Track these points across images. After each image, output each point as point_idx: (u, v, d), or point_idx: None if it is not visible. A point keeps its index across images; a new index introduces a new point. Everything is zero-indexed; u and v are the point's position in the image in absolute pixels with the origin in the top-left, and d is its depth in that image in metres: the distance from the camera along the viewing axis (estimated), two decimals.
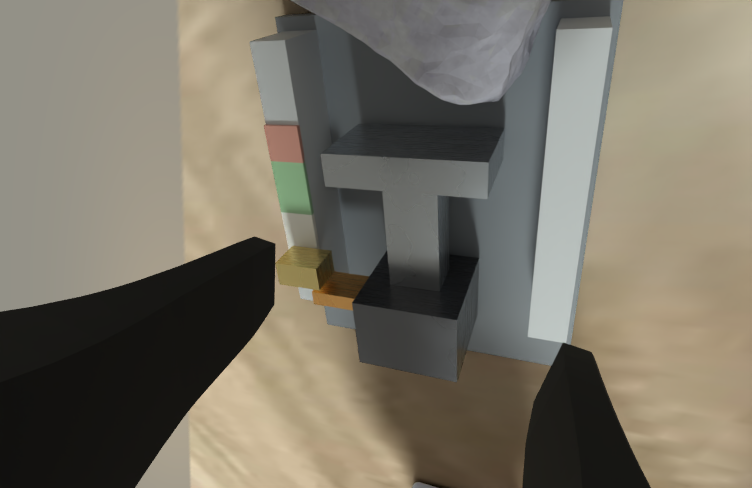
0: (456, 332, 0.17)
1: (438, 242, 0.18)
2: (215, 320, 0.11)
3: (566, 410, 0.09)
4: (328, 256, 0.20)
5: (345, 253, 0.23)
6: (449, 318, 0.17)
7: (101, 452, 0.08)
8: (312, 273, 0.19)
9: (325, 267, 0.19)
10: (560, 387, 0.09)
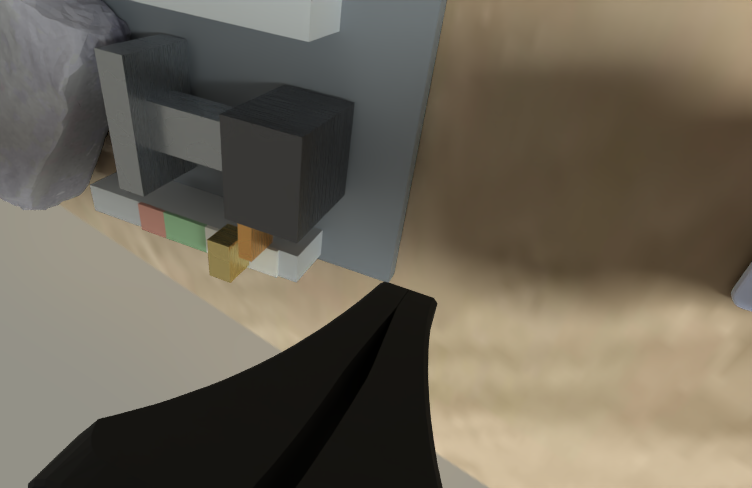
0: (234, 118, 0.16)
1: (196, 115, 0.18)
2: (363, 380, 0.10)
3: None
4: (225, 227, 0.20)
5: None
6: (219, 121, 0.16)
7: None
8: (212, 244, 0.19)
9: (226, 233, 0.20)
10: None
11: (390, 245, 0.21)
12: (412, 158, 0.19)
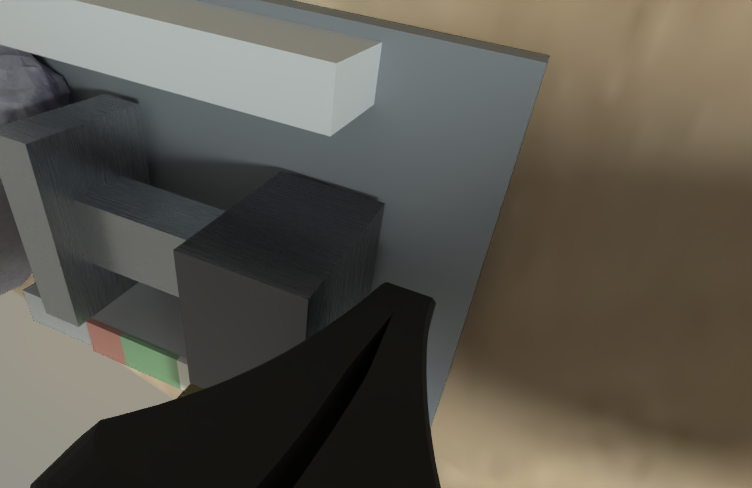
0: (197, 259, 0.10)
1: (147, 225, 0.12)
2: None
3: None
4: None
5: None
6: (175, 259, 0.10)
7: None
8: None
9: None
10: None
11: (436, 385, 0.15)
12: (476, 282, 0.13)
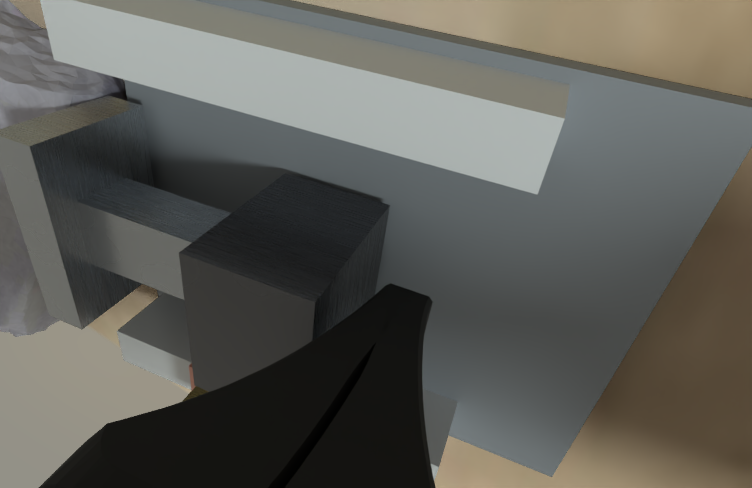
0: (203, 261, 0.10)
1: (152, 227, 0.12)
2: None
3: None
4: None
5: None
6: (180, 262, 0.10)
7: None
8: None
9: None
10: None
11: (567, 436, 0.14)
12: None
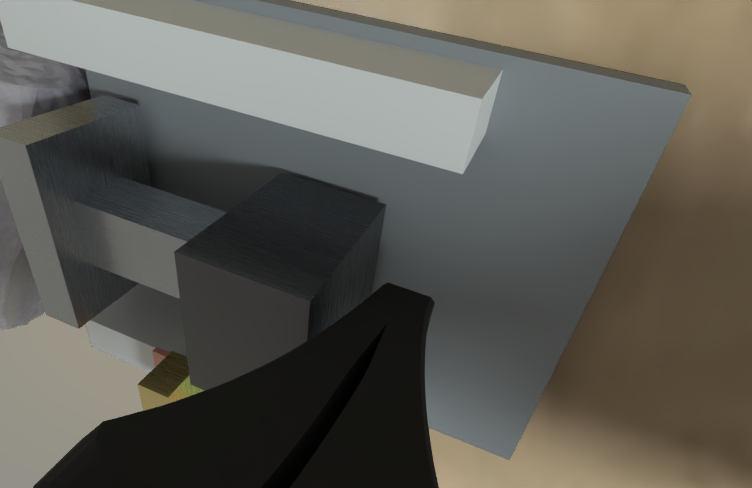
0: (199, 260, 0.10)
1: (148, 226, 0.12)
2: None
3: None
4: (168, 358, 0.14)
5: None
6: (176, 261, 0.10)
7: None
8: (145, 391, 0.13)
9: (168, 370, 0.14)
10: None
11: (521, 418, 0.15)
12: None
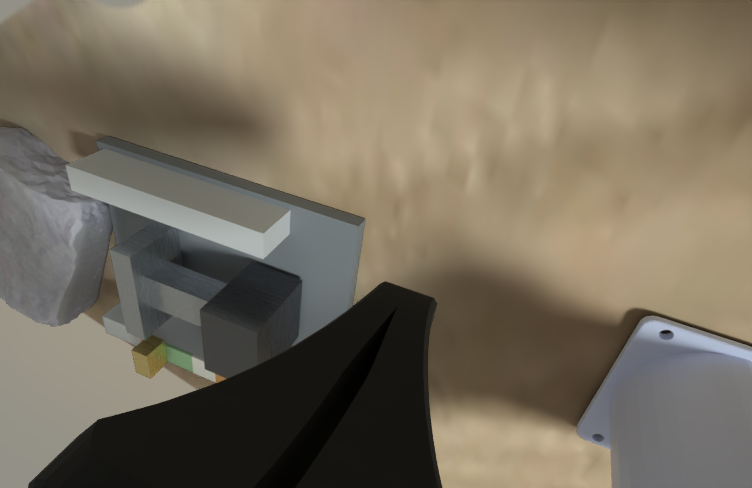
0: (210, 314, 0.22)
1: (184, 291, 0.24)
2: (363, 379, 0.10)
3: None
4: None
5: None
6: (200, 313, 0.22)
7: None
8: (135, 353, 0.27)
9: (147, 343, 0.27)
10: None
11: None
12: None
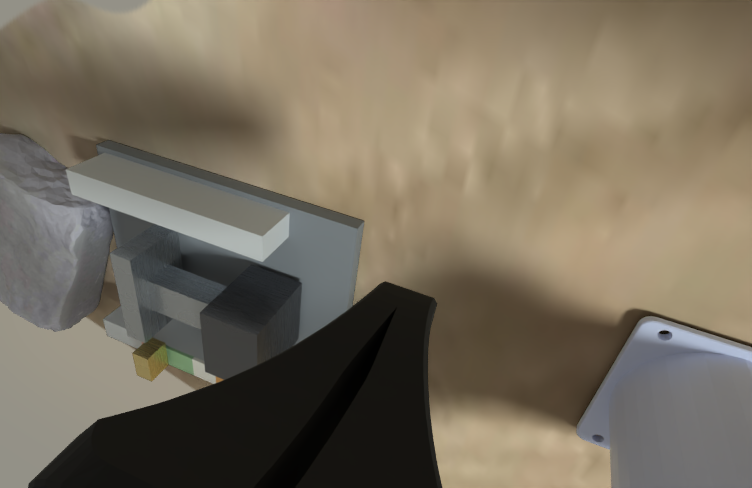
0: (210, 317, 0.22)
1: (184, 294, 0.24)
2: (363, 379, 0.10)
3: None
4: None
5: None
6: (200, 316, 0.22)
7: None
8: (136, 356, 0.27)
9: (148, 346, 0.27)
10: None
11: None
12: None
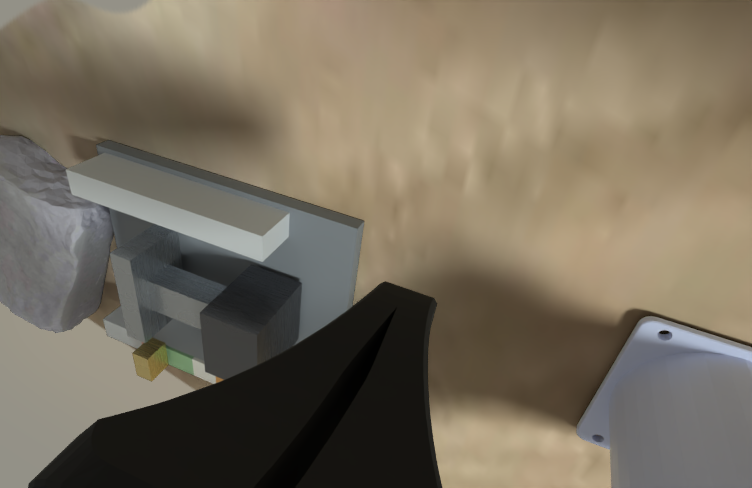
0: (210, 317, 0.22)
1: (184, 294, 0.24)
2: (363, 379, 0.10)
3: None
4: None
5: None
6: (200, 316, 0.22)
7: None
8: (136, 356, 0.27)
9: (148, 346, 0.27)
10: None
11: None
12: None
